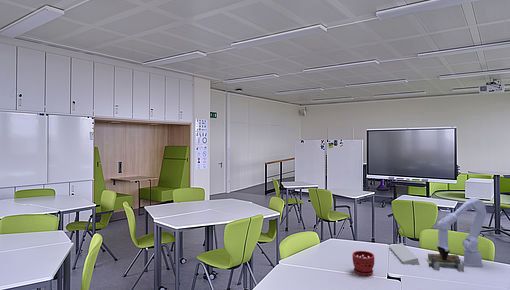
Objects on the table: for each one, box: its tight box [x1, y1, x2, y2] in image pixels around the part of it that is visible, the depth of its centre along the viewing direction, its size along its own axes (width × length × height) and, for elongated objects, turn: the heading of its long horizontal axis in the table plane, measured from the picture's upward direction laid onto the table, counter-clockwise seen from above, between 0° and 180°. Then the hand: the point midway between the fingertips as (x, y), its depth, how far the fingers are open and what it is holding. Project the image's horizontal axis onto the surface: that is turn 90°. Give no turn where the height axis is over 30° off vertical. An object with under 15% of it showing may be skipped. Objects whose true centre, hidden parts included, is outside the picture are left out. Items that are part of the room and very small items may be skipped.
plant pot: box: [351, 250, 375, 277], centre depth 202 cm, size 13×13×12 cm
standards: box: [428, 257, 465, 273], centre depth 206 cm, size 20×6×6 cm, turn 78°
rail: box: [427, 253, 460, 262], centre depth 219 cm, size 18×4×4 cm, turn 78°
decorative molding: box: [388, 242, 420, 266], centre depth 232 cm, size 34×5×10 cm
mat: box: [424, 258, 455, 264], centre depth 219 cm, size 20×9×1 cm, turn 78°
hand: (443, 258), depth 219 cm, fingers closed on rail, 3 cm apart
